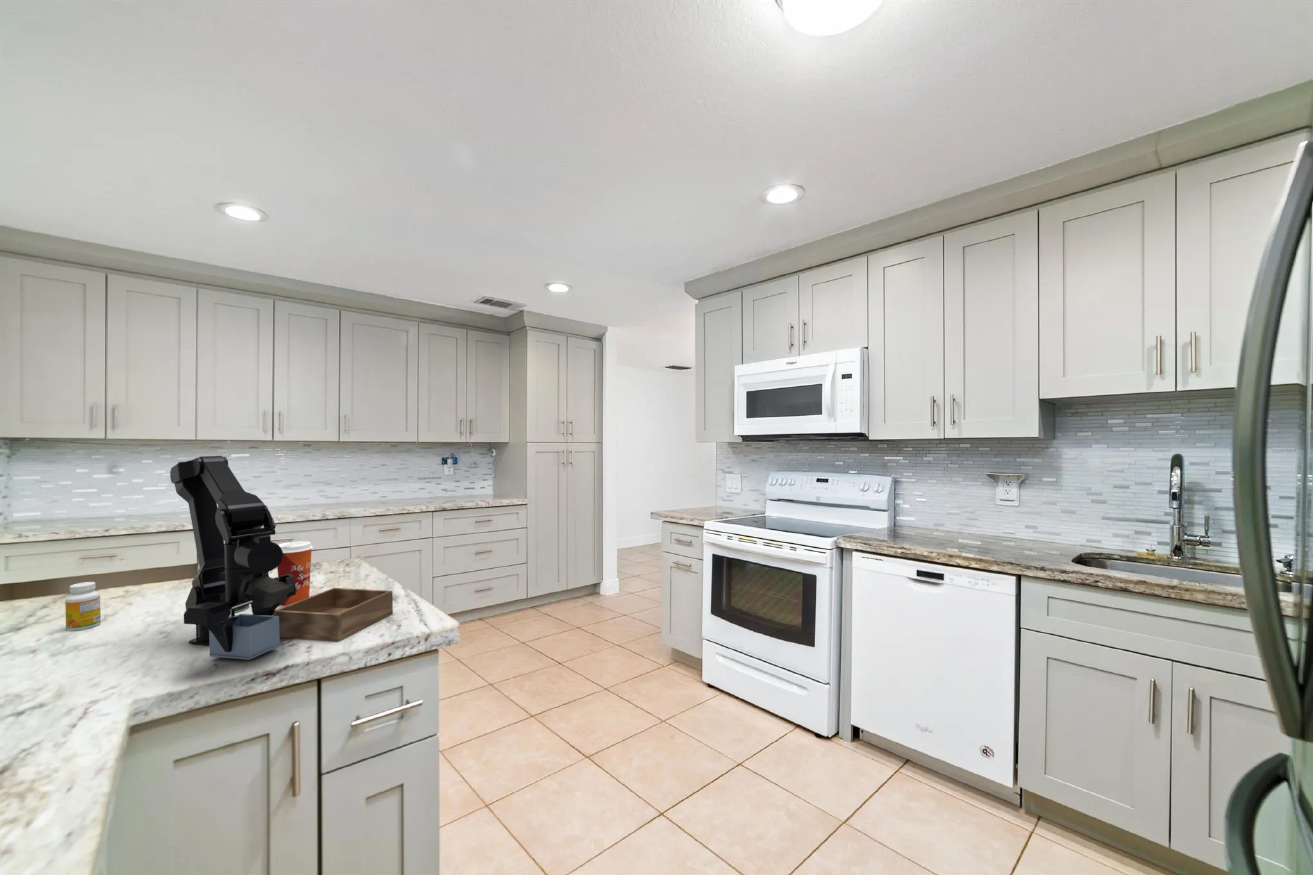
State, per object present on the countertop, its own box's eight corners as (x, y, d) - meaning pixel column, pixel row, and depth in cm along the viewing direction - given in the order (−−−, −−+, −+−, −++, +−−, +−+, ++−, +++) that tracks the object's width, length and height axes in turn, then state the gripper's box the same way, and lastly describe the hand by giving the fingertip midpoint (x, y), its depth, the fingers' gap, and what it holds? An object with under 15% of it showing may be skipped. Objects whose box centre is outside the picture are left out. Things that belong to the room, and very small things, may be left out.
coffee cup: (299, 607, 134) (298, 547, 133) (267, 607, 134) (266, 547, 134) (321, 596, 142) (320, 540, 142) (290, 596, 142) (289, 540, 142)
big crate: (272, 636, 115) (272, 611, 114) (334, 610, 131) (333, 587, 131) (338, 641, 112) (338, 615, 112) (392, 613, 128) (392, 590, 128)
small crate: (209, 656, 103) (209, 625, 103) (241, 642, 109) (241, 613, 109) (249, 659, 101) (248, 628, 101) (279, 645, 108) (279, 616, 107)
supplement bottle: (61, 629, 120) (60, 585, 120) (95, 621, 125) (94, 579, 125) (71, 633, 118) (69, 588, 117) (104, 625, 122) (103, 582, 122)
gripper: (232, 580, 94) (234, 668, 94) (317, 555, 113) (319, 629, 113) (180, 577, 96) (182, 664, 97) (272, 553, 115) (273, 626, 115)
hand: (245, 644), depth 105 cm, fingers closed on small crate, 6 cm apart
